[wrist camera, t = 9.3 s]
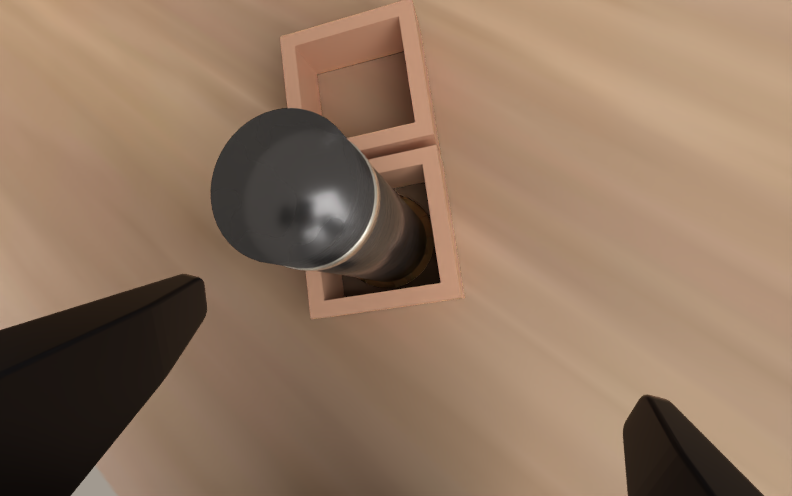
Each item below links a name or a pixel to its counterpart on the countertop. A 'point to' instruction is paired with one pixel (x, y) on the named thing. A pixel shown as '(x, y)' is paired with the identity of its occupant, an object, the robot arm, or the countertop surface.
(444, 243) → the collar
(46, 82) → the countertop surface
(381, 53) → the collar
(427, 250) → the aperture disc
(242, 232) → the tube
